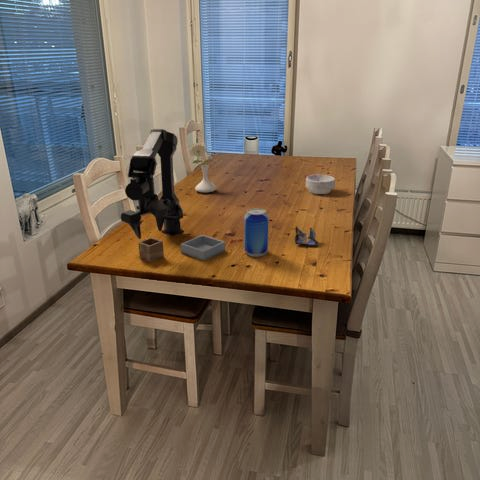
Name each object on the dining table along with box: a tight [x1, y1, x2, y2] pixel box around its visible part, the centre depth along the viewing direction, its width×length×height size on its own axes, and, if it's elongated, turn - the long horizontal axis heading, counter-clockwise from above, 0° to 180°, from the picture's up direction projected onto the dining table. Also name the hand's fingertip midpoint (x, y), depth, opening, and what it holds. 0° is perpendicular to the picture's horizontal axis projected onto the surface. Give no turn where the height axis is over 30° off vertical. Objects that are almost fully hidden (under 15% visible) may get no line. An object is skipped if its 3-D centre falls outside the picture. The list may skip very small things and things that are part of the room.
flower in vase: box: [190, 144, 217, 193], centre depth 229 cm, size 13×11×25 cm
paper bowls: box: [305, 174, 336, 195], centre depth 229 cm, size 15×15×8 cm
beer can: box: [244, 207, 269, 258], centre depth 155 cm, size 8×8×16 cm
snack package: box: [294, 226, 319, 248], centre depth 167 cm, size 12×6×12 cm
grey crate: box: [180, 234, 226, 262], centre depth 159 cm, size 11×11×4 cm
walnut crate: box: [137, 237, 165, 263], centre depth 154 cm, size 6×6×6 cm
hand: (149, 234), depth 152 cm, fingers open, 9 cm apart
